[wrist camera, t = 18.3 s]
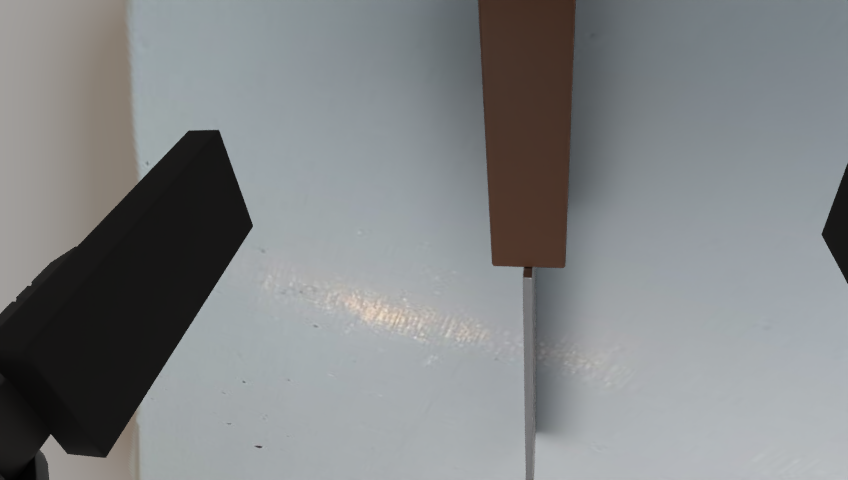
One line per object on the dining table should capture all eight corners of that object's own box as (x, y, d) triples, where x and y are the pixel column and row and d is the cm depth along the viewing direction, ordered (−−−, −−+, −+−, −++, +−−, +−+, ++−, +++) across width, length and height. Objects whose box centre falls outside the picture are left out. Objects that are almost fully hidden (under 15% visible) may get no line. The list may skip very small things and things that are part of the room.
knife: (488, -85, 17) (472, -52, 14) (576, -93, 17) (579, -60, 14) (509, 431, 31) (503, 503, 28) (556, 435, 31) (556, 509, 28)
